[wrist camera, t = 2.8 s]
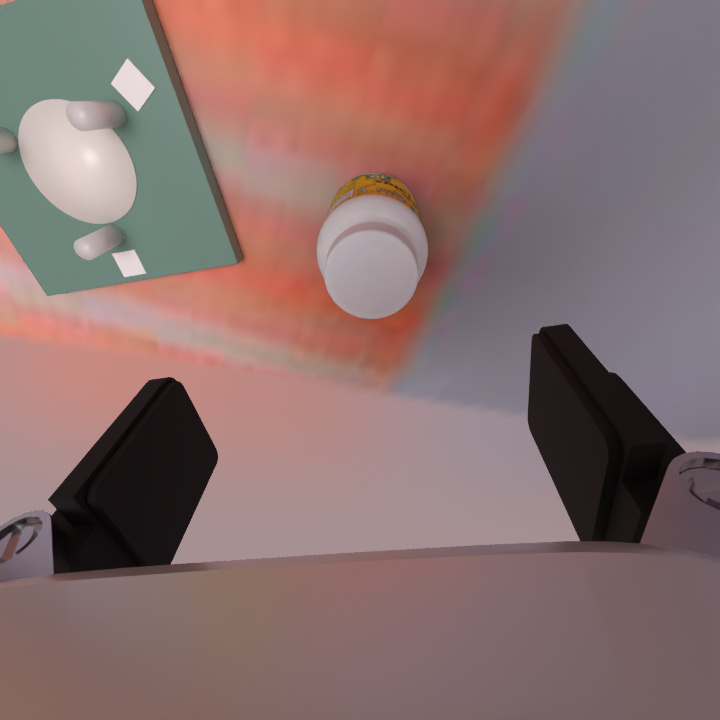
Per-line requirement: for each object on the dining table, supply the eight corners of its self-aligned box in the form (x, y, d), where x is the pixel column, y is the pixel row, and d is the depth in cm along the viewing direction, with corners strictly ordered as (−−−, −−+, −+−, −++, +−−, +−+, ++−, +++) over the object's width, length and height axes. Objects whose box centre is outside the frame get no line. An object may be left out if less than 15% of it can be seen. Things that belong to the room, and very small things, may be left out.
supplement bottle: (313, 218, 25) (279, 277, 17) (374, 148, 22) (368, 178, 15) (374, 276, 27) (370, 353, 19) (436, 217, 24) (461, 277, 16)
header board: (142, -27, 19) (88, -54, 15) (243, 257, 26) (222, 282, 23) (-99, 43, 21) (-196, 34, 17) (59, 288, 28) (13, 316, 25)
